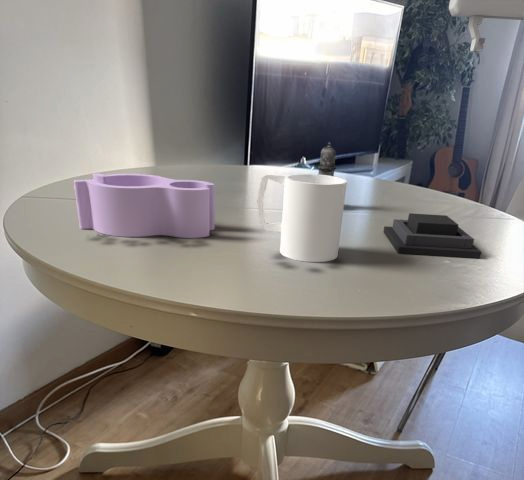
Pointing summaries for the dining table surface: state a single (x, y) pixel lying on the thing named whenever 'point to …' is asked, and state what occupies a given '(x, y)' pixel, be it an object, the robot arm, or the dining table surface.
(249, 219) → the dining table surface
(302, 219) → the cup
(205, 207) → the purple hollow rounded tray
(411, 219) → the black pad
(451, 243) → the base pad
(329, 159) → the salt shaker
